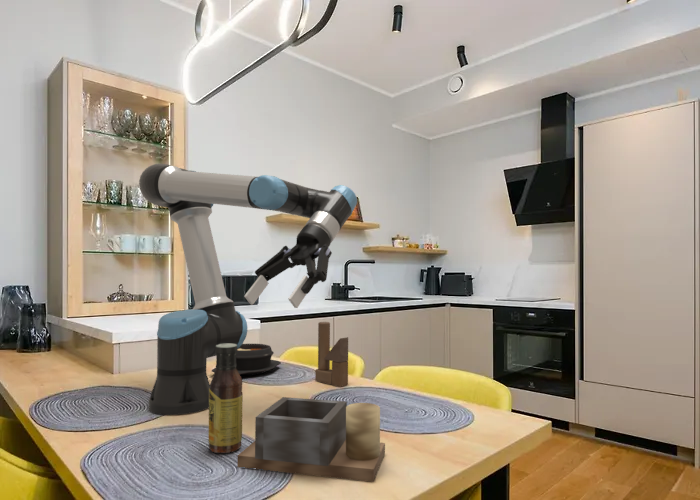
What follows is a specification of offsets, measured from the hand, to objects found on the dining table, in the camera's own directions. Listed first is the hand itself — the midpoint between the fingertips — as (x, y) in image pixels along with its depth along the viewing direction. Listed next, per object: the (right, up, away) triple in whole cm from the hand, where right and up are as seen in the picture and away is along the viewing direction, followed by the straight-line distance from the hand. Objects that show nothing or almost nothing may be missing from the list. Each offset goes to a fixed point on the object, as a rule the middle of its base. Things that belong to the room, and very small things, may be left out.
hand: (269, 302), depth 100 cm
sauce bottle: (-7, -27, -9) cm, 30 cm away
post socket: (+10, -27, -14) cm, 32 cm away
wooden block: (+11, -29, +43) cm, 53 cm away
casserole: (-17, -30, +58) cm, 67 cm away
